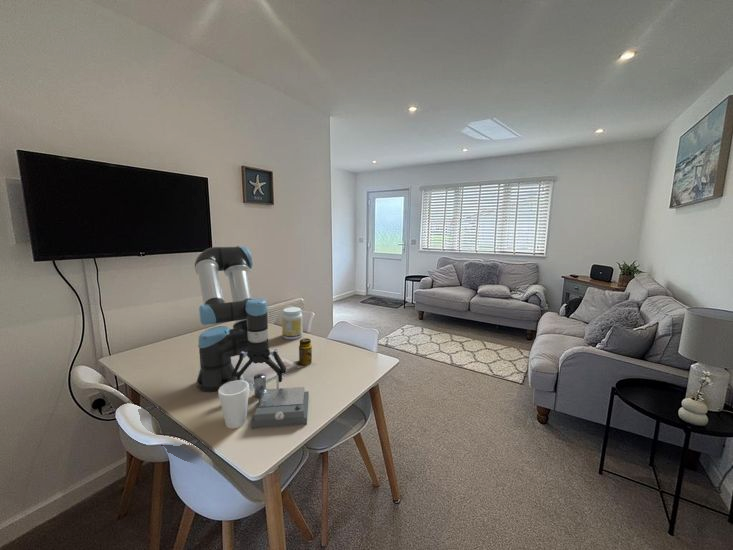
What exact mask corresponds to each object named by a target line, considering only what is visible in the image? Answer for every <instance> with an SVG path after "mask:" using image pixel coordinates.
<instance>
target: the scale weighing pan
mask: <svg viewBox="0 0 733 550" xmlns="http://www.w3.org/2000/svg"><path fill="white" fill-rule="evenodd" d="M305 389H306V387H305V386H301V387H299V386H298V387H283V388H282V387H280V388H279V389H277V388H270V389H269V388H268V389H267V388H266V389H265V390H264V393H263V396H262V399H261V402H260V405H259V408H265V407H278V406H292V405H303V401H304V392H305Z"/></svg>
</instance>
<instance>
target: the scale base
mask: <svg viewBox="0 0 733 550" xmlns="http://www.w3.org/2000/svg"><path fill="white" fill-rule="evenodd" d="M309 395H310V394H309V391H307V390H306V391H304V401H303V405H292V406H278V407H265V408H259V405H260V402H261V399H262V396H263V394H262V395H261V396H260V398H258V399H259V400H258V402H257V404H256V408H255V411H254V413H253V417H252V420H251V429H254V430H255V429H262V428H263V429H264V428H275V427H278V428H279V427H288V426H290V427H291V426H299V425H308V413H309V411H308V410H309V401H310V400H309V398H310V397H309Z"/></svg>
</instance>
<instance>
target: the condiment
mask: <svg viewBox="0 0 733 550" xmlns="http://www.w3.org/2000/svg"><path fill="white" fill-rule="evenodd" d="M311 341H312V340H311V338H305V337H304V338H301V339H300V340H299V346H298V358H299V359H298V360H296V361H295V360H294V361H292V363H293V364H294V366H295V367H296V368H297V369H300V368H304V367H309V366H313V365H315V363H314V362H313V361H312V355H313V354H312V353H313V352H312V351H313V348H312V347H313V346H312V343H311Z"/></svg>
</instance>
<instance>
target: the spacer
mask: <svg viewBox="0 0 733 550" xmlns="http://www.w3.org/2000/svg"><path fill="white" fill-rule="evenodd" d="M253 386H254V387H253V388H254V390H253V391H254V397H255V398H257V399H260V396H261V395H262V394H263V393H264V390H265V389H267V375H266V374H265V373H257V374H254V376H253Z"/></svg>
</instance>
